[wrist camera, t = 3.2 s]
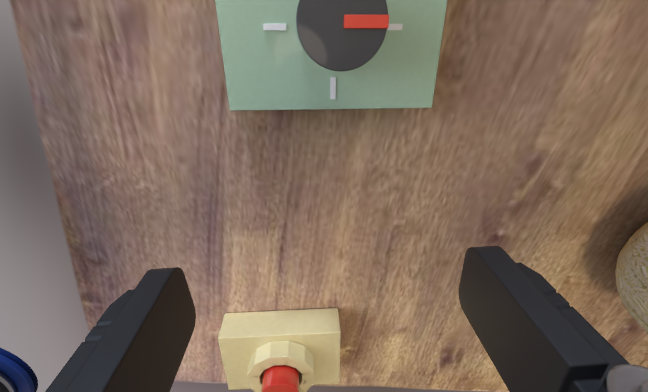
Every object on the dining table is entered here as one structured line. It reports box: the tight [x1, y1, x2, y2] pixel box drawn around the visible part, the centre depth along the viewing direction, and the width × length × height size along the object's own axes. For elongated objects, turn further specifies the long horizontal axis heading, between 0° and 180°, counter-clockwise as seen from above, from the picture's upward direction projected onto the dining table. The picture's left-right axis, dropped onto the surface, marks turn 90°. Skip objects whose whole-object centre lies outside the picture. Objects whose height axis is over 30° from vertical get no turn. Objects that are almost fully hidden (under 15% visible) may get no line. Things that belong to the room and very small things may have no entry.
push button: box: [261, 365, 300, 392], centre depth 30 cm, size 4×4×2 cm
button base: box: [218, 308, 341, 392], centre depth 33 cm, size 12×8×5 cm, turn 90°
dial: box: [296, 0, 389, 72], centre depth 17 cm, size 4×4×5 cm
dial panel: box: [215, 0, 447, 111], centre depth 21 cm, size 14×10×3 cm
